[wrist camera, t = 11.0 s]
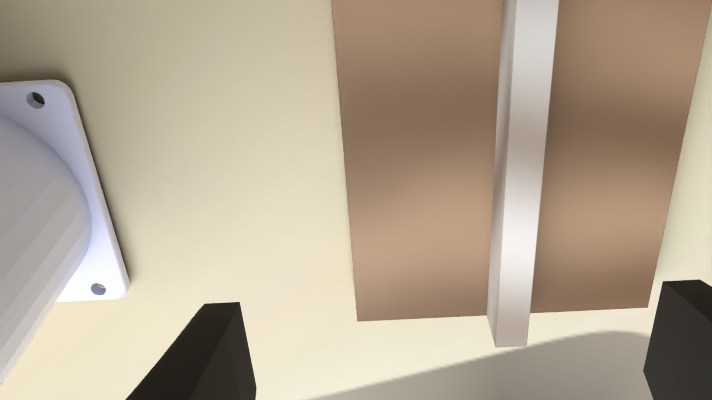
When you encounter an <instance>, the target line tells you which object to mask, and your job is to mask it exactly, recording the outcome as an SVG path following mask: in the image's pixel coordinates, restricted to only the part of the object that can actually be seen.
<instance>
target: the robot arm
mask: <svg viewBox="0 0 712 400" xmlns="http://www.w3.org/2000/svg"><path fill="white" fill-rule="evenodd" d="M32 92H36V93H38V94H40V95H41V96H42V97H43V99H44V102H45V104H40V103H38V102H36V101H35V100H34V98H33V96H32ZM95 283H98V284H101V285H103V286H104V287H105V288H100V287H98V286H97V285H96V284H95ZM129 287H130V282H129V278H128V275H127V272H126V268H125V265H124V262H123V258H122V255H121V252H120V248H119V245H118V242H117V238H116V235H115V232H114V228H113V225H112V222H111V218H110V215H109V212H108V208H107V205H106V202H105V198H104V195H103V192H102V188H101V185H100V182H99V178H98V175H97V172H96V168H95V165H94V162H93V158H92V155H91V152H90V148H89V145H88V142H87V138H86V135H85V132H84V128H83V125H82V122H81V118H80V115H79V112H78V108H77V105H76V102H75V98H74V95H73V93H72V91H71V89H70V88H69V87H68V86H67V85H66V84H65V83H63V82H61V81H59V80H52V79H51V80H35V81H19V82H2V83H0V387H1V385H2V384H3V382H4V381H5V379H6V378H7V376H8V375H9V373H10V372H11V370H12V369H13V367H14V365H15V364H16V362H17V361H18V359H19V358H20V356H21V355H22V353H23V352H24V350H25V349H26V347H27V345H28V344H29V342H30V341H31V339H32V338H33V336H34V335H35V333H36V332H37V330H38V329H39V327H40V325H41V324H42V322H43V321H44V319H45V318H46V316H47V315H48V313H49V312H50V310H51V309H52V307H53V305H54V304H55V302H66V301H86V300H106V299H119V298H122V297H123V296H125V295H126V293H127V291H128V289H129ZM643 372H644V374H645V377H646V380H647V382H648V385H649V388H650V391H651V394H652V396H653V399H654V400H712V287H711V286H709V285H708V284H706V283H704V282H703V281H701V280H683V281H663V284H662V288H661V293H660V297H659V302H658V306H657V311H656V315H655V320H654V324H653V329H652V333H651V338H650V343H649V347H648V352H647V356H646V361H645V366H644V370H643ZM255 397H256V383H255V378H254V373H253V368H252V363H251V358H250V353H249V348H248V343H247V337H246V332H245V327H244V322H243V317H242V312H241V307H240V302H232V303H211V304H204V305H203V306H202V307H201V308H200V309H199V311H198V312H197V313H196V314H195V316H194V317H193V318H192V319H191V321H190V322H189V323H188V324H187V326H186V327H185V328H184V330H183V331H182V332H181V333H180V335H179V336H178V337H177V338H176V340H175V341H174V342H173V344H172V345H171V346H170V347H169V349H168V350H167V351H166V352H165V353H164V355H163V356H162V357H161V358H160V360H159V361H158V362H157V363H156V365H155V366H154V367H153V368H152V369H151V370H150V372H149V373H148V374H147V375H146V376H145V378H144V379H143V380H142V381H141V382H140V383H139V385H138V386H137V387H136V388H135V389H134V391H133V392H132V393H131V394H130V395H129V396H128V397H127V399H126V400H255Z"/></svg>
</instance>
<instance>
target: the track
mask: <svg viewBox="0 0 712 400" xmlns="http://www.w3.org/2000/svg"><path fill="white" fill-rule="evenodd" d="M331 1H332V14H333V26H334V38H335V51H336V63H337V76H338V88H339V100H340V113H341V125H342V137H343V150H344V162H345V174H346V187H347V199H348V212H349V224H350V236H351V249H352V261H353V273H354V286H355V298H356V310H357V321H377V320H397V319H418V318H439V317H460V316H481V315H487V317H488V321H489V325H490V328H491V332H492V336H493V339H494V343H495V347H516V346H527V337H528V326H529V316H530V313H543V312H564V311H585V310H606V309H627V308H648V303H649V299H650V294H651V289H652V284H653V280H654V275H655V270H656V265H657V261H658V256H659V251H660V246H661V242H662V237H663V232H664V227H665V223H666V218H667V213H668V208H669V204H670V199H671V194H672V189H673V185H674V180H675V175H676V170H677V166H678V161H679V156H680V151H681V147H682V142H683V137H684V132H685V128H686V123H687V118H688V113H689V109H690V104H691V99H692V94H693V90H694V85H695V80H696V75H697V71H698V66H699V61H700V56H701V52H702V47H703V42H704V37H705V33H706V28H707V23H708V18H709V14H710V9H711V4H712V0H331Z"/></svg>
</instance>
